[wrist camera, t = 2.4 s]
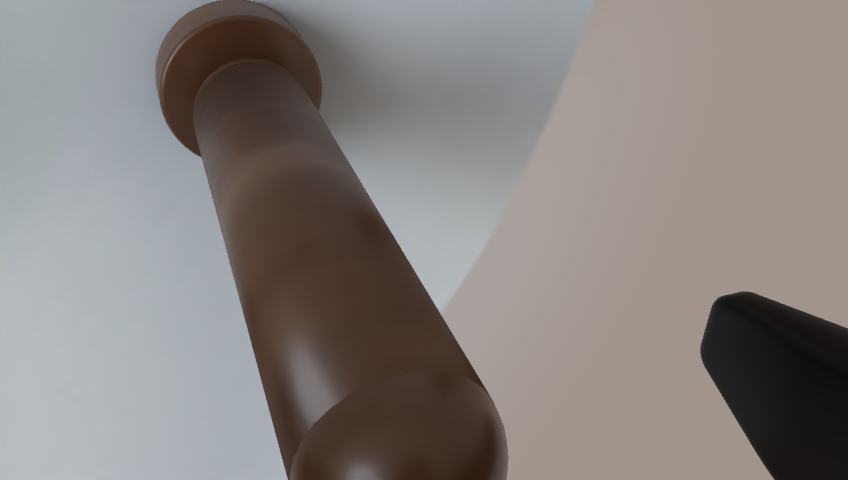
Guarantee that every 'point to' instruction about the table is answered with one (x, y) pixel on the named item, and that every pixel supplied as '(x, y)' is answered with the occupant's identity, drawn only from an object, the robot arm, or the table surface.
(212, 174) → the wooden pestle
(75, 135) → the table surface
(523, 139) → the table surface
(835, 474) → the robot arm
